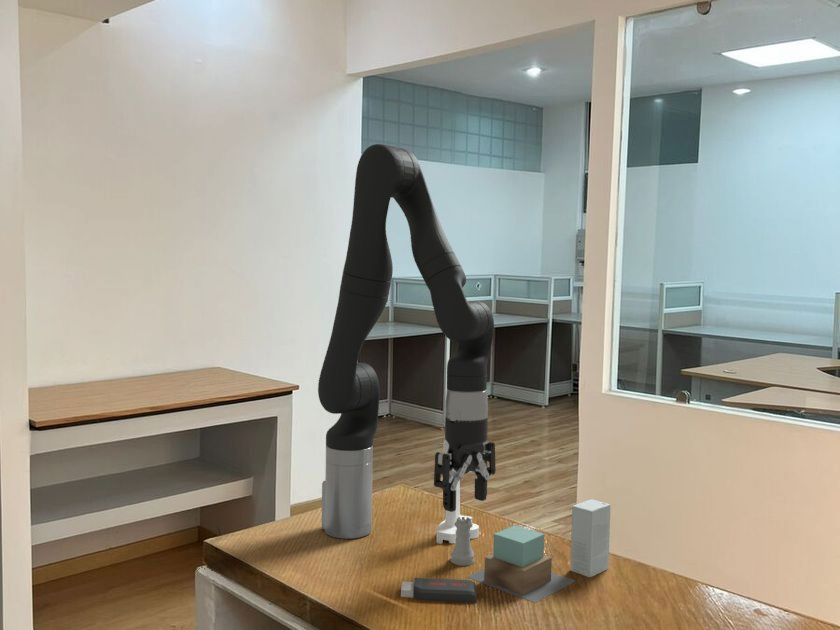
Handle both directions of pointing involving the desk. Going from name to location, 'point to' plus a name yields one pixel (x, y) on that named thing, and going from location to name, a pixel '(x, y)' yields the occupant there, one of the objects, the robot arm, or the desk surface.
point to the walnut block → (518, 574)
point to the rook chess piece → (463, 543)
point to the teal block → (518, 546)
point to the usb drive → (440, 590)
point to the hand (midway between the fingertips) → (465, 505)
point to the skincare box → (590, 537)
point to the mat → (534, 595)
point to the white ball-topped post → (453, 517)
